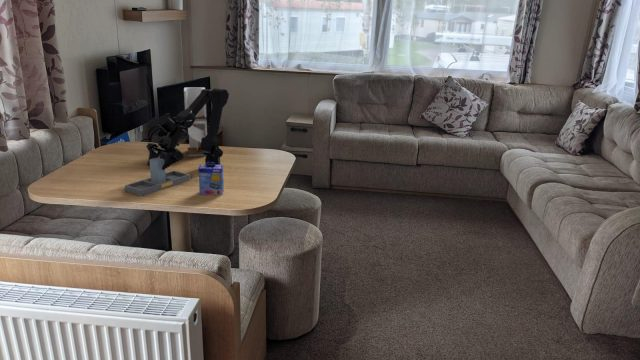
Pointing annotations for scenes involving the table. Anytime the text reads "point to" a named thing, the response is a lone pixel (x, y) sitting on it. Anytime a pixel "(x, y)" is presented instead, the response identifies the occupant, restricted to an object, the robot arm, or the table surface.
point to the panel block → (157, 171)
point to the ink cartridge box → (211, 179)
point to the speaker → (163, 156)
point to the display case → (196, 123)
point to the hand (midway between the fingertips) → (155, 167)
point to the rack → (149, 187)
